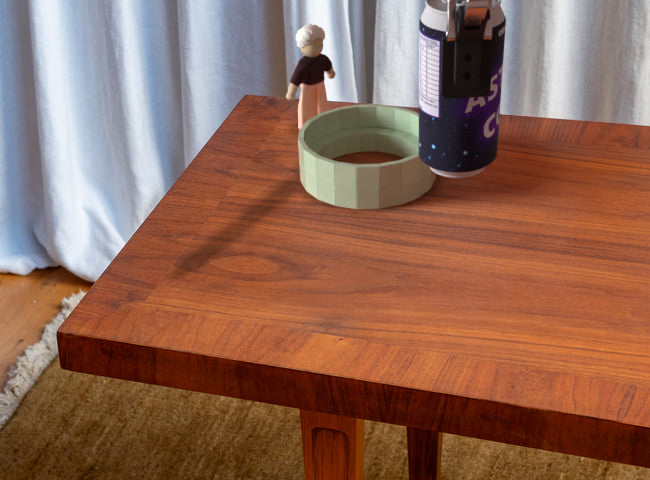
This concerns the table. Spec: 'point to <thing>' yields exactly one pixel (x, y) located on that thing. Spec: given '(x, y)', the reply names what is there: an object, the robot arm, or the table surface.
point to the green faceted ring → (357, 136)
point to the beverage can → (456, 102)
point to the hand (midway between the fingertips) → (460, 73)
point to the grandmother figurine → (310, 74)
